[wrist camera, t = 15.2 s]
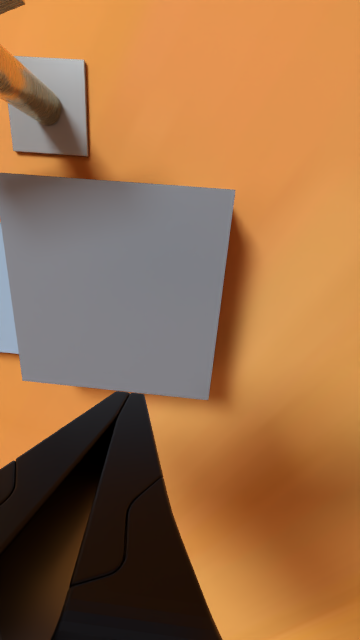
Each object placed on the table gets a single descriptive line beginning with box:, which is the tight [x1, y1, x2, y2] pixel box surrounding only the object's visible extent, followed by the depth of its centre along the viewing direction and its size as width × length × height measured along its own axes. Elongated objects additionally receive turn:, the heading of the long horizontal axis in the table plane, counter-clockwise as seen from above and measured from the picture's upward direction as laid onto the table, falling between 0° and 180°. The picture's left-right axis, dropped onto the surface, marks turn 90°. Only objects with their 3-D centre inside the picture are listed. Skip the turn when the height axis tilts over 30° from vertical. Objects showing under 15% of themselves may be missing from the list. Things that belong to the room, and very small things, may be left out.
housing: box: [0, 56, 235, 400], centre depth 16 cm, size 18×13×4 cm
